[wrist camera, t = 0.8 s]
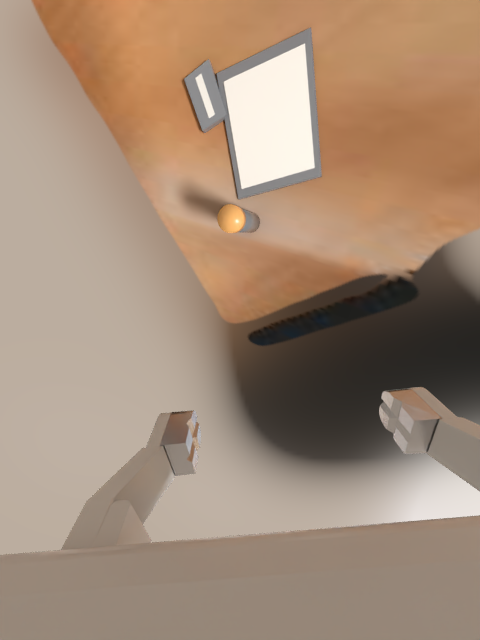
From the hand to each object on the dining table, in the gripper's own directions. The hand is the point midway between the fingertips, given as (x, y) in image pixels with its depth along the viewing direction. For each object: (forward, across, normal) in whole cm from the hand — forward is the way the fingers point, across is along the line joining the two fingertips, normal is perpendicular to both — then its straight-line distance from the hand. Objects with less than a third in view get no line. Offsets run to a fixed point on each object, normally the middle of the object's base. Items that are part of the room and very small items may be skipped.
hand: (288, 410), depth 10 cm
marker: (+41, -2, -7) cm, 41 cm away
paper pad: (+41, -6, -21) cm, 46 cm away
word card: (+44, +4, -27) cm, 52 cm away
